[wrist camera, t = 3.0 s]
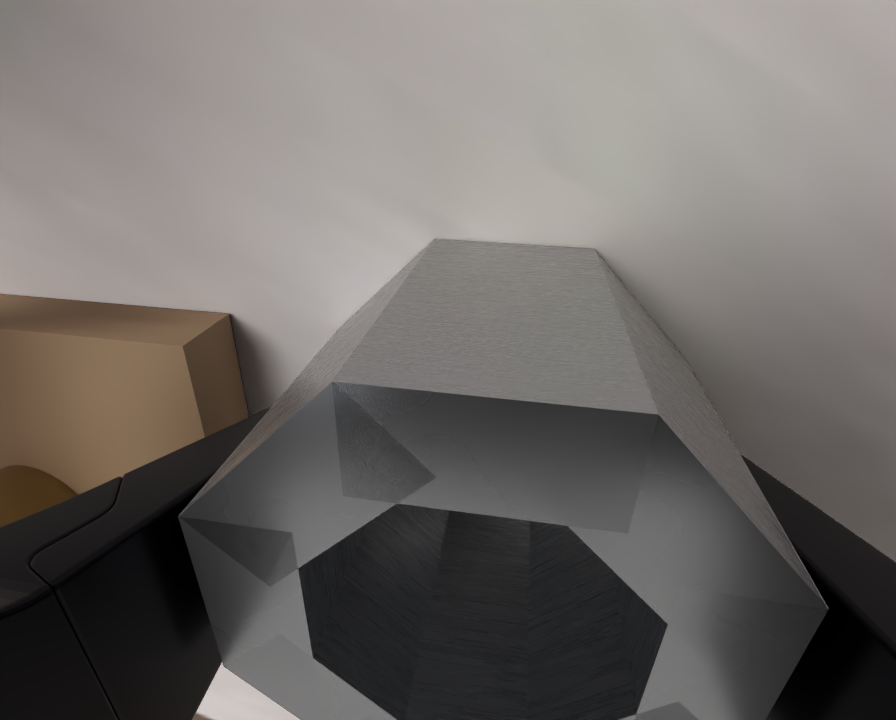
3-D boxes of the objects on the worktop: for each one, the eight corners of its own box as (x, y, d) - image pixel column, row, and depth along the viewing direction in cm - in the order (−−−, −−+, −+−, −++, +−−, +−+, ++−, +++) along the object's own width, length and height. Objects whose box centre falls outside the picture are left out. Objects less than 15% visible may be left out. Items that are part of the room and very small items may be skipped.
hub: (715, 256, 8) (925, 442, 4) (636, 544, 11) (700, 833, 7) (329, 232, 9) (129, 361, 5) (352, 506, 12) (246, 742, 8)
